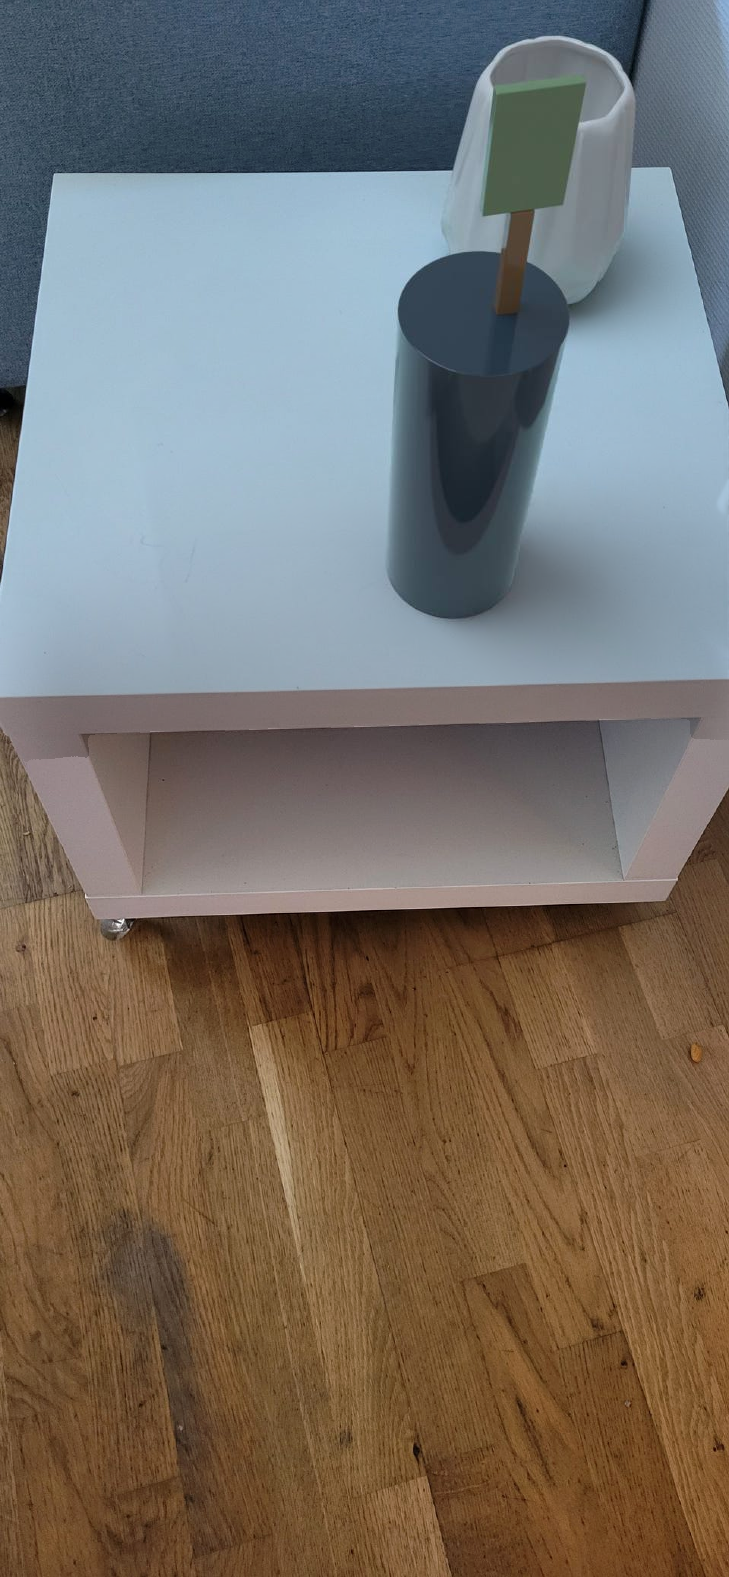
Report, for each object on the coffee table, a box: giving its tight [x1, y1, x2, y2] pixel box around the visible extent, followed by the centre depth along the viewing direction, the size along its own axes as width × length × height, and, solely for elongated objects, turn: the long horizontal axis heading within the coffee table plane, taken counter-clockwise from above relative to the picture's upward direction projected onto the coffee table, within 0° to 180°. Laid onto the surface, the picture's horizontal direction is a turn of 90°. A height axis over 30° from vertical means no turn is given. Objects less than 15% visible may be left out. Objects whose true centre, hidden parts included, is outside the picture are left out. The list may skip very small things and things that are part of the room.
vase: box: [440, 35, 637, 306], centre depth 85 cm, size 14×14×15 cm
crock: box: [385, 74, 586, 619], centre depth 64 cm, size 9×9×34 cm
